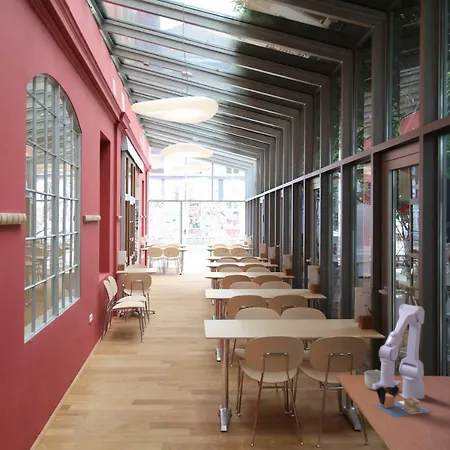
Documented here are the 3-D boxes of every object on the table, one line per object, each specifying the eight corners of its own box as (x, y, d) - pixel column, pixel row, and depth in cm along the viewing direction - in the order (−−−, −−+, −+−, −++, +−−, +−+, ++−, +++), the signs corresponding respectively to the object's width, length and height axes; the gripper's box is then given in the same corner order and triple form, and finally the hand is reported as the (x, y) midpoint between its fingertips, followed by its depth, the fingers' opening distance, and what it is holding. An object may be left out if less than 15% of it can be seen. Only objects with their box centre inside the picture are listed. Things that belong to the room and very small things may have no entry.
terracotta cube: (387, 403, 218) (387, 393, 218) (394, 406, 213) (394, 396, 213) (379, 404, 216) (379, 394, 216) (385, 407, 212) (386, 397, 212)
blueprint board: (408, 401, 223) (408, 399, 223) (431, 413, 210) (431, 411, 210) (372, 406, 216) (372, 404, 216) (394, 418, 203) (394, 416, 203)
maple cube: (412, 407, 214) (412, 397, 214) (419, 411, 210) (420, 401, 210) (404, 408, 212) (404, 398, 212) (411, 412, 208) (411, 402, 208)
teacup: (383, 394, 231) (384, 378, 231) (361, 389, 237) (361, 373, 236) (390, 386, 243) (391, 370, 243) (368, 382, 248) (369, 366, 248)
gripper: (380, 377, 208) (379, 408, 208) (406, 374, 213) (405, 404, 214) (369, 372, 215) (368, 402, 215) (395, 369, 220) (394, 398, 220)
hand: (386, 403), depth 215 cm, fingers closed on terracotta cube, 4 cm apart
